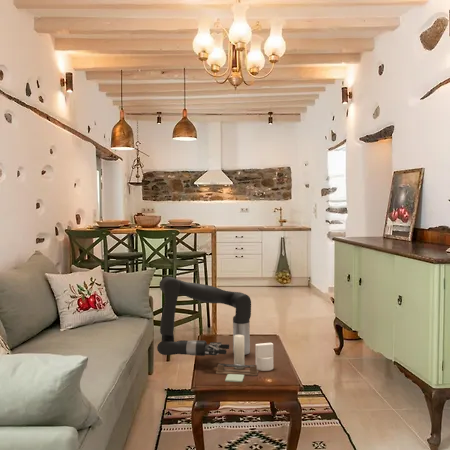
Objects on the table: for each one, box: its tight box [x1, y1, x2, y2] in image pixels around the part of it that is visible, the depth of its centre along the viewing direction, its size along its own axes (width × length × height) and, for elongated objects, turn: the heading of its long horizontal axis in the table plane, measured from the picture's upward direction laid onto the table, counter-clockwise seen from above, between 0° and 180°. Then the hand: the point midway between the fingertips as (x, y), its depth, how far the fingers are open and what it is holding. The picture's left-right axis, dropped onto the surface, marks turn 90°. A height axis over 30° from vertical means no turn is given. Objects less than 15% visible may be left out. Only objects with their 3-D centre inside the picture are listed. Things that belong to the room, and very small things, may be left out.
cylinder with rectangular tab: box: [254, 342, 274, 372], centre depth 231 cm, size 9×9×12 cm
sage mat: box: [224, 374, 245, 383], centre depth 217 cm, size 8×8×1 cm
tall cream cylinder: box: [233, 335, 245, 370], centre depth 232 cm, size 5×5×16 cm
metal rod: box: [219, 363, 255, 369], centre depth 224 cm, size 1×18×1 cm, turn 81°
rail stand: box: [215, 362, 259, 377], centre depth 224 cm, size 5×20×4 cm, turn 81°
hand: (227, 349), depth 233 cm, fingers open, 8 cm apart
